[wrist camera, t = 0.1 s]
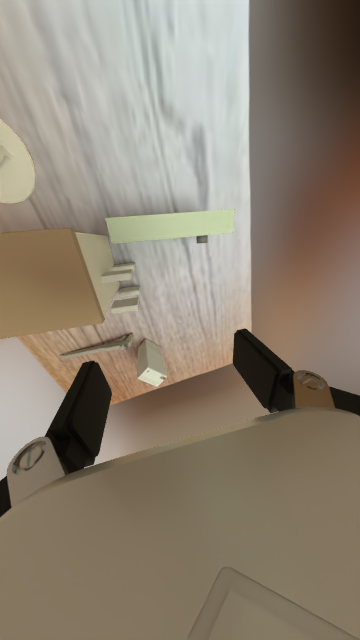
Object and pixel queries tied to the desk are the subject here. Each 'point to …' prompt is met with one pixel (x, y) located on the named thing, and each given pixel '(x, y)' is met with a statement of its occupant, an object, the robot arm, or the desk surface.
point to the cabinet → (59, 281)
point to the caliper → (102, 347)
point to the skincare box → (150, 363)
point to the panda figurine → (15, 168)
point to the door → (170, 226)
